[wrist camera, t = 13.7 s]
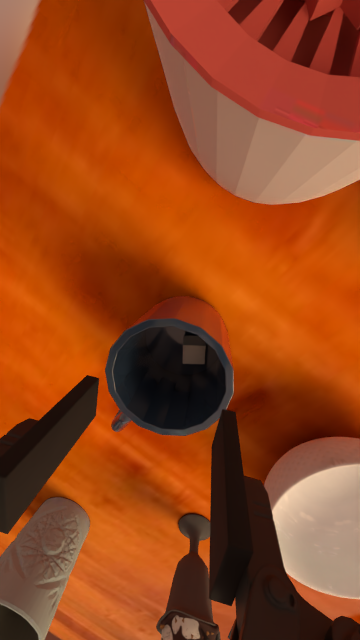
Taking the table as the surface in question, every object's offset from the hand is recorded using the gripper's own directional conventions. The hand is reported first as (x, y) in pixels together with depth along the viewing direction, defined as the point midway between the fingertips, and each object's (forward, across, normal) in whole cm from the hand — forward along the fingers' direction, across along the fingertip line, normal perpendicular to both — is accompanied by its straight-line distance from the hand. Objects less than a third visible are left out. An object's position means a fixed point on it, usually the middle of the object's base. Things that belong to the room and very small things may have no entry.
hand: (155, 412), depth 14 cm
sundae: (+13, +7, -28) cm, 32 cm away
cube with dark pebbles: (+11, 0, 0) cm, 11 cm away
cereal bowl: (+13, +20, -13) cm, 27 cm away
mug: (+13, -1, -2) cm, 13 cm away
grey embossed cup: (+13, -13, -34) cm, 39 cm away
